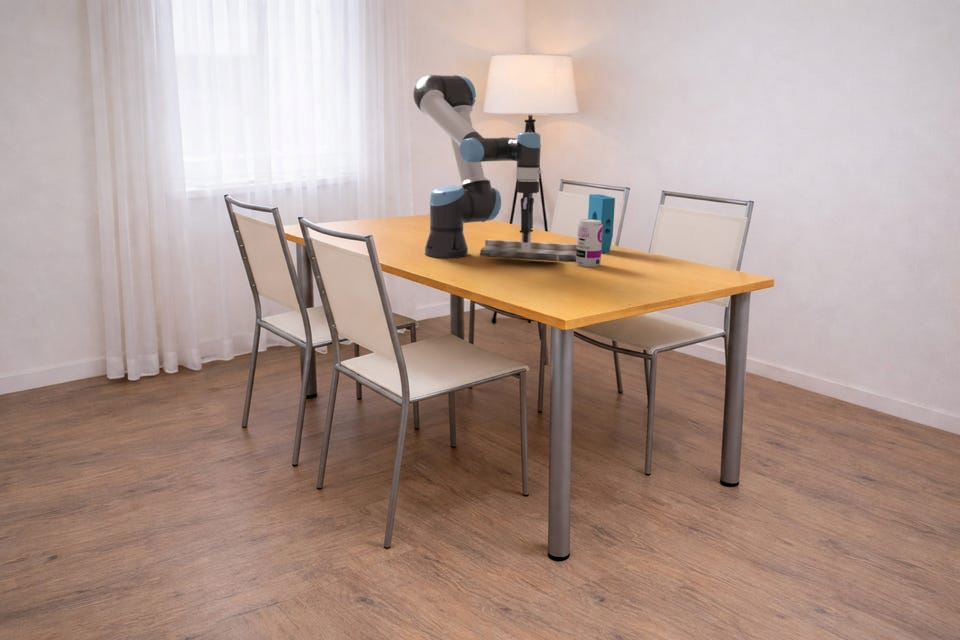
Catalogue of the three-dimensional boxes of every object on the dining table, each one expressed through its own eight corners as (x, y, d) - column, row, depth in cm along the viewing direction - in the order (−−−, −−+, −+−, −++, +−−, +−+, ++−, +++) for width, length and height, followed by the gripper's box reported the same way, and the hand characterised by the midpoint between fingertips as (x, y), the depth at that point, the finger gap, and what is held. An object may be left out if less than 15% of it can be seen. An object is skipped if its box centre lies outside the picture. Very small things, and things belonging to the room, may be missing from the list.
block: (612, 253, 313) (616, 198, 308) (600, 254, 311) (603, 198, 306) (597, 247, 324) (600, 194, 318) (585, 248, 322) (588, 194, 317)
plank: (489, 255, 287) (490, 250, 287) (495, 257, 299) (496, 252, 299) (555, 259, 283) (556, 254, 283) (559, 260, 295) (559, 256, 295)
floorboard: (479, 256, 302) (480, 244, 301) (485, 250, 312) (486, 239, 311) (583, 262, 296) (583, 250, 294) (585, 256, 306) (586, 245, 305)
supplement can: (602, 263, 294) (605, 220, 290) (597, 268, 286) (600, 223, 282) (578, 261, 296) (581, 218, 292) (573, 266, 289) (575, 221, 285)
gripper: (536, 182, 276) (534, 255, 281) (541, 179, 289) (539, 249, 294) (513, 181, 277) (511, 254, 282) (519, 178, 290) (517, 248, 296)
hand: (525, 251), depth 288 cm, fingers closed
